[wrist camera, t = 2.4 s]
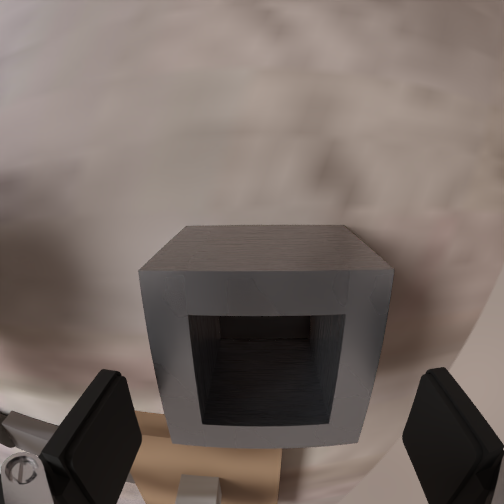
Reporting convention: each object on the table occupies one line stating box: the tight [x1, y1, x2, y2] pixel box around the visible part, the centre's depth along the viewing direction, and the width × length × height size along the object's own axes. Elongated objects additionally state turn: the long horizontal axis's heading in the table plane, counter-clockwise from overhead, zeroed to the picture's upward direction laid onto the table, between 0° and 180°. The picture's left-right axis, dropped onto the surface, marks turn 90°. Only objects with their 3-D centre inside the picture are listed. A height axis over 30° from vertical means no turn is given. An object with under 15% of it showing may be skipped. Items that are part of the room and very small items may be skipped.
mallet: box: [0, 411, 282, 504], centre depth 17 cm, size 10×27×6 cm, turn 91°
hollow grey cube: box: [138, 225, 394, 449], centre depth 12 cm, size 7×7×6 cm
